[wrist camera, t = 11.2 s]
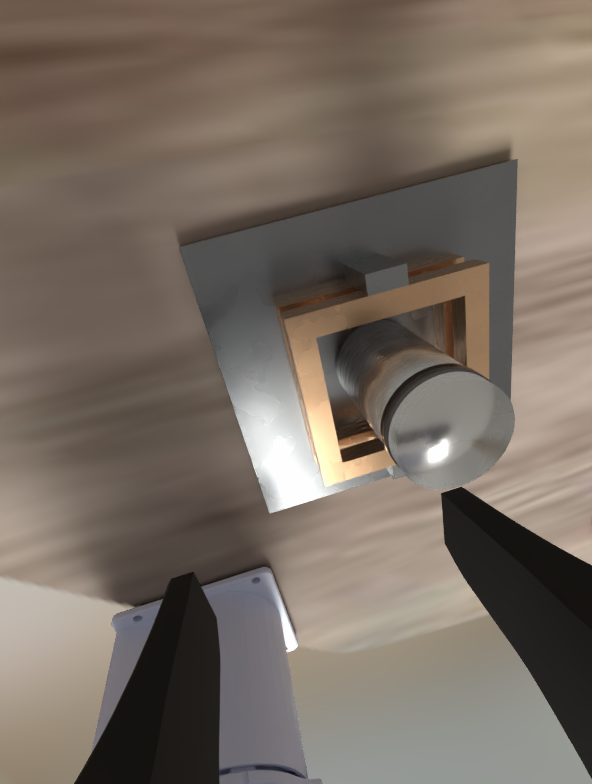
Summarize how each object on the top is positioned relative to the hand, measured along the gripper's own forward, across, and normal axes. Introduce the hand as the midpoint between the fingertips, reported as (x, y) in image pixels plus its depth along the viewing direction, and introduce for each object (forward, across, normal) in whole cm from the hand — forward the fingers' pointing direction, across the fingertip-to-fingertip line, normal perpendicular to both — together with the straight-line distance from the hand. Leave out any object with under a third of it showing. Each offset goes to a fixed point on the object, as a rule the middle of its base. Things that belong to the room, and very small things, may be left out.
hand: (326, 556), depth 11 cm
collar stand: (+9, -5, -1) cm, 11 cm away
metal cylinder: (+9, -5, -1) cm, 10 cm away
